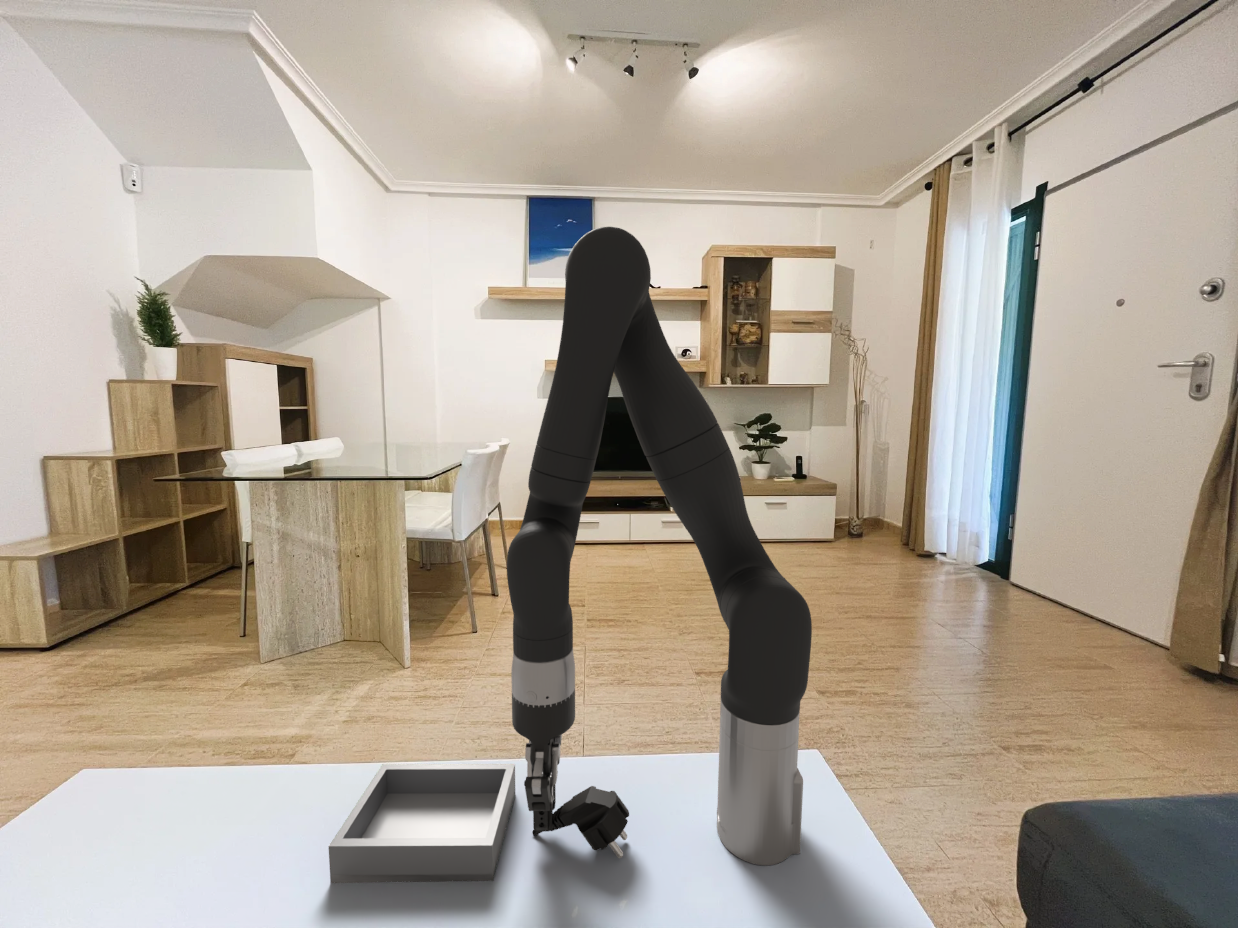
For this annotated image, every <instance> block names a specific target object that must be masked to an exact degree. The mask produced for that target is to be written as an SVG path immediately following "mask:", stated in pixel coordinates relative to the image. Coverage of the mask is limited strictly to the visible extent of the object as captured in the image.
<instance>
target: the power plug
mask: <svg viewBox="0 0 1238 928" xmlns="http://www.w3.org/2000/svg"><path fill="white" fill-rule="evenodd" d="M629 817H630V810H629V809H628V807H627V806H626V805H625V804H624V803H623V801H622V799H621V797H620V796H618V793H616V791H615V790H610V791H608V790H603V789H599V788H597V787H596V786H595V785H591V786H589V787H588V788H586V789H584V790H582V791H580V792H579V793H577V794H575V795H574V796H572V798H571V799H569V800H568V801H566V802H565V803H563V805H561V806H559V808H557V809H556V810H555V811H554V812H553V824H552V829H551V830H550V831H549V832H554V831H556V830H560V829H562V828H565V827H570V826H572V825H576V827H577V829H578V830H579V832H580V833H581V835H582V836H583V838H585V840H586V841H587V843H588V845H589V846H590V848H592V850H594V851H598V850H601V851H602V850H605V849H607V848H608V846H609V847H610V848H611V850H612V852H613V853H614V854H615V856H616V857H617V858H618V859H622V858H623V856H624V852H623V851H622V849H621V848H620V846H619V845H618V843H617V842H616V840H617V839H618V837H620V838H621V840H623V841H626V840H628V833H627V832H626V831H625V828H626V826H627V824H628V822H629V821H628V819H627V818H629ZM543 832H544V831H535V830H534V829H533V830H532V835H533V836H534V837H536V836H537V835H539V834H541V833H543Z"/></svg>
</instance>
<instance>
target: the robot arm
mask: <svg viewBox="0 0 1238 928" xmlns="http://www.w3.org/2000/svg"><path fill="white" fill-rule="evenodd" d="M564 271H565V273H564V275H565V276H564V278H565V288H564V304H563V317H562V319H563V320H562V326H561V334H560V335H561V336H560V342H559V347H558V354H557V359H556V365H555V370H554V374H553V378H552V383H551V387H550V391H549V393H548V394H549V395H548V398H547V402H546V406H545V409H544V413H543V417H542V420H541V424H540V429H539V433H538V436H537V441H536V445H535V448H534V452H533V456H532V461H531V465H530V466H531V467H530V470H529V476H528V482H527V483H528V491H529V493H528V494H529V495H528V498H527V503H526V507H525V511H524V515H523V519H522V522H521V525H520V529H519V531H518V533H516V535H514V538H513V539H512V540H511V542H510V544H509V546H508V547H509V548H508V550H507V557H506V577H507V587H508V593H509V598H510V599H509V600H510V605H511V608H512V614H513V620H512V648H513V649H512V662H511V672H510V673H511V723H512V727H513V729H514V730H515V732H516V733H517V734H519V736H522V737H524V738H526V739H527V740H528V742H526V743H525V758H524V759H525V761H526V762H527V764H526V765H527V767H526V769H527V770H526V774H527V775H526V776H525V780H524V782H523V783H524V784H523V785H524V791H525V797H526V803H527V808H528V811H529V812H532V813H533V814H532V815H533V817H532V818H533V820H532V821H533V823H532V824H533V825H532V827H533V830H535V831H543V832H551V831H550V830H551V829H552V824H553V813H554V812H553V811H554V810H555V808H556V797H557V796H556V794H557V793H556V791H557V790H556V784H557V781H558V773H559V771H558V765H559V764H560V761H561V745H562V738H563V735H564V734H565V733H567V732H568V731H569V730H570V729H571V728H572V726H573V725H574V723H575V721H576V663H575V655H574V654H575V653H574V646H573V645H574V631H573V630H574V629H573V628H574V622H573V621H574V619H573V618H574V617H573V611H572V608H571V604H570V576H571V575H570V571H571V562H572V559H573V554H574V551H575V546H576V540H577V536H578V531H579V527H580V522H581V521H580V520H581V518H582V517H581V516H582V511H583V505H584V501H585V499H586V497H587V495H588V492H589V488H590V486H591V481H592V477H593V474H594V471H595V466H596V462H597V457H598V454H599V450H600V446H601V441H602V435H603V431H604V429H603V428H604V424H605V419H606V411H607V407H608V402H609V401H608V400H609V394H610V391H611V390H610V389H611V385H612V384H611V383H612V381H613V378H614V377H613V376H615V378H616V380H617V383H618V385H619V388H620V391H621V394H622V398H623V401H624V403H625V407H626V410H627V413H628V415H629V419H630V422H631V424H632V427H633V428H634V432H635V434H636V436H637V440H638V441H639V444H640V446H641V450H642V452H643V454H644V456H645V457H646V460H647V462H648V464H649V466H650V468H651V471H652V473H653V475H654V477H655V479H656V481H657V483H658V485H659V486H660V489H661V491H662V493H663V494H664V495H665V498H666V499H667V501H668V503H669V504H670V506H671V508H672V510H673V511H674V513H675V514H676V516H677V518H678V519H679V521H680V522H681V523H682V525H683V526H684V528H685V530H686V531H687V532H688V534H689V535H690V537H691V539H692V540H693V542H694V543H695V547H696V548H697V550H698V552H699V554H700V556H701V560H702V561H703V564H704V566H705V570H706V572H707V575H708V578H709V580H710V583H711V586H712V590H713V593H714V596H715V598H716V599H715V600H716V602H717V607H718V609H719V613H720V615H721V618H722V619H723V621H724V623H725V626H726V627H727V629H728V635H729V636H728V660H727V669H726V670H725V671H724V672H723V674H722V676H721V681H720V705H719V706H720V707H719V709H720V710H719V711H720V712H719V715H720V716H719V743H718V744H719V745H718V775H717V776H718V779H717V806H716V807H717V808H716V830H717V834H718V837H719V839H720V841H721V842H722V844H723V846H724V848H726V849H727V850H728V851H729V852H730V853H732V854H733V855H734V856H736V858H739V859H741V861H744V862H747V863H750V864H752V865H757V866H758V865H759V866H772V865H778V864H780V863H782V862H784V861H785V860H786V859H787V858H789V857H790V856H791V855H797V854H798V855H800V853H801V840H802V839H801V838H802V837H801V836H802V818H803V817H802V816H803V798H804V797H803V795H804V794H803V793H804V791H803V790H804V779H803V775H802V774H801V771H800V770H799V768H798V760H799V759H798V757H799V755H798V754H799V737H800V736H799V735H800V733H799V732H800V731H799V730H800V713H801V712H800V711H801V701H802V699H803V698H804V695H805V693H806V691H807V688H808V682H809V672H810V671H809V669H810V663H811V662H810V660H811V650H812V649H811V648H812V635H813V634H812V633H813V631H812V630H813V629H812V628H813V625H812V616H811V615H812V614H811V610H810V607H809V605H808V603H807V601H806V599H805V598H804V596H803V595H802V594H801V593H800V592H799V591H798V590H797V588H795V587H794V586H793V585H792V584H791V583H790V582H789V581H788V580H787V579H786V578H785V577H784V576H783V575H782V574H781V573H780V571H779V569H778V568H777V567H776V566H775V564H774V563H773V560H771V558H770V556H769V555H768V553H767V551H766V549H765V548H764V545H763V544H762V542H761V539H759V537H758V535H757V533H756V531H755V529H754V527H753V525H752V522H751V520H750V517H749V514H748V511H747V507H746V501H745V497H744V496H745V495H744V492H743V487H742V482H741V478H740V474H739V471H738V467H737V464H736V461H735V458H734V456H733V452H732V450H731V449H730V446H729V444H728V441H727V439H726V437H725V435H724V433H723V431H722V428H721V426H720V424H719V423H718V420H717V418H716V416H715V414H714V412H713V410H712V409H711V407H710V405H709V404H708V402H707V401H706V399H705V397H704V396H703V394H702V393H701V391H700V390H699V389H698V387H697V385H696V384H695V383H694V381H693V380H692V378H691V377H690V375H689V374H688V373H687V371H686V370H685V369H684V368H683V366H682V364H681V363H680V362H679V361H678V359H677V358H676V356H675V355H674V352H673V350H672V349H671V348H670V345H669V343H668V341H667V339H666V337H665V334H664V331H663V328H662V327H661V324H660V321H659V318H658V316H657V313H656V310H655V307H654V304H653V301H652V298H651V295H650V291H649V290H650V285H651V279H652V277H651V276H652V275H651V274H652V273H651V265H650V261H649V257H648V255H647V252H646V250H645V248H644V247H643V245H642V243H641V242H640V241H639V240H638V239H637V237H635V236H634V235H633V234H632V233H631V232H628V231H627V230H625V229H623V228H622V227H617V226H600V227H596V228H593V229H592V230H590V231H588V232H586V233H585V234H584V235H583V236H581V237H580V238H579V239H578V241H576V243H575V244H574V245H573V247H572V249H571V250H570V252H569V254H568V256H567V259H566V264H565V270H564Z"/></svg>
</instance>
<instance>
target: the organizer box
mask: <svg viewBox="0 0 1238 928" xmlns="http://www.w3.org/2000/svg"><path fill="white" fill-rule="evenodd" d="M515 798H516V764H515V763H386V764H385V763H382V764H381V766H380V767H379V768H378V770H377V772H376V773H375V774H374V776H373V777H372V779H371V781H370V782H369V783H368V785H367V787H366V788H365V790H364V791H363V793H362V795H361V796H360V797H359V799H358V801H357V802H356V803H355V805H354V807H353V808H352V809H351V811H350V813H349V814H348V815H347V818H346V819H345V820H344V822H343V823H342V825H341V826H340V828H339V829H338V831H337V832H336V834H335V835H334V837H333V838H332V840H331V841H330V843H329V845H328V860H329V861H328V862H329V876H330V877H329V879H330V884H371V883H373V884H374V883H375V884H377V883H378V884H380V883H381V884H382V883H387V884H388V883H389V884H390V883H443V882H444V883H445V882H446V883H447V882H448V883H450V882H453V883H454V882H455V883H456V882H493V881H494V879H495V875H496V872H497V871H496V870H497V867H498V863H499V860H500V856H501V852H502V848H503V845H504V840H505V837H506V833H507V829H508V825H509V821H510V818H511V813H512V809H513V805H514V802H515Z"/></svg>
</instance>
